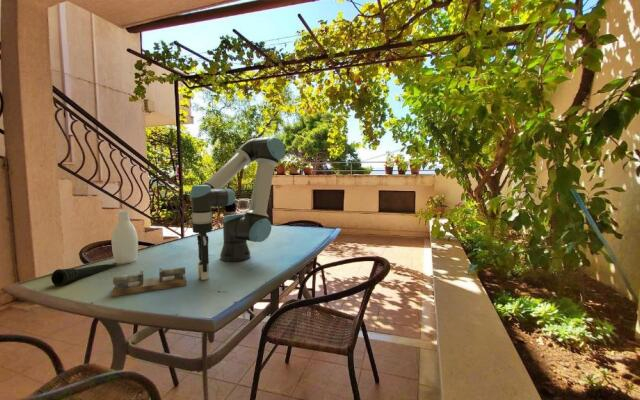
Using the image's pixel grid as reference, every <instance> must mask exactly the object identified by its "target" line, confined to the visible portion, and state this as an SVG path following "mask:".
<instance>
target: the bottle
mask: <svg viewBox="0 0 640 400" xmlns="http://www.w3.org/2000/svg"><path fill="white" fill-rule="evenodd" d="M117 212H118V221H117V223H116V224H115V227H114V228H113V230H112V234H111V239H110V241H111V248H112V249H111V251H112V256H113V260H114V263H115V264H116V265H122V264H123V265H125V264H130V263H134V262H136V261H137V259H138V257H137V256H138V252H139V238H138V232H137V229H136V228H135V225H134V224H133V223H132V222H131V220H130V210H128V209H127V210H126V209H125V210H118V211H117Z"/></svg>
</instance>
